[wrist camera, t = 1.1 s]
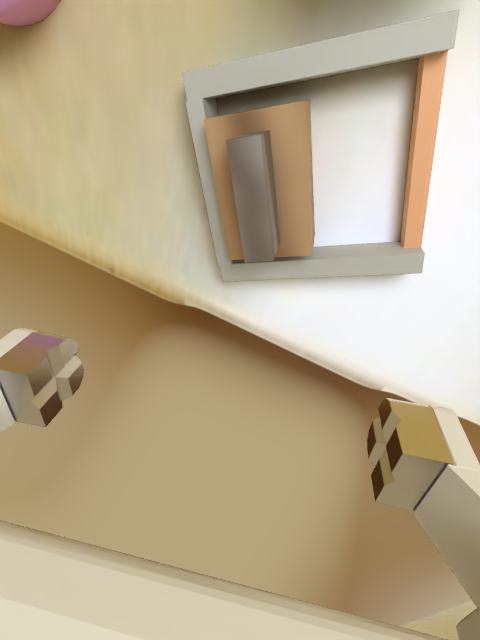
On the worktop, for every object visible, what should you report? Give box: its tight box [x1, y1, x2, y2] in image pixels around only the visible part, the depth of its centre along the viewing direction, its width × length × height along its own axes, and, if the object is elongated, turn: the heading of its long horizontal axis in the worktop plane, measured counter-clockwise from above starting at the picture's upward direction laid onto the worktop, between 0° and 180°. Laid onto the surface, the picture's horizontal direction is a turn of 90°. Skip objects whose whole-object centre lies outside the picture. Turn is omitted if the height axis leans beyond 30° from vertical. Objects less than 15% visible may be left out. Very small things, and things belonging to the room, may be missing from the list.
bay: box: [182, 10, 459, 282], centre depth 31 cm, size 20×19×4 cm
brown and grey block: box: [204, 100, 315, 263], centre depth 29 cm, size 8×12×10 cm, turn 8°
